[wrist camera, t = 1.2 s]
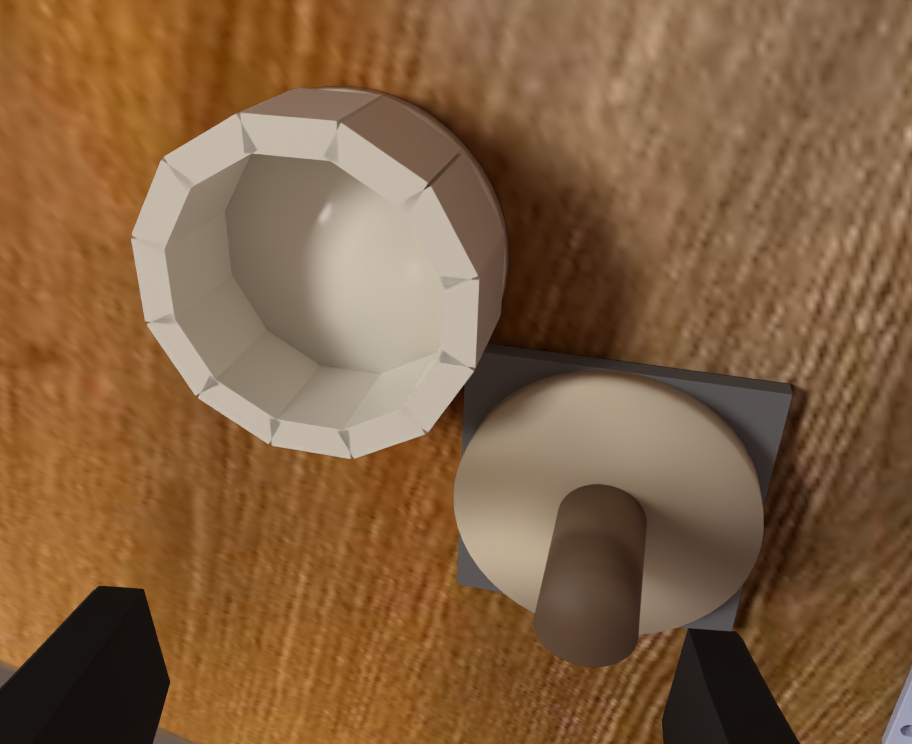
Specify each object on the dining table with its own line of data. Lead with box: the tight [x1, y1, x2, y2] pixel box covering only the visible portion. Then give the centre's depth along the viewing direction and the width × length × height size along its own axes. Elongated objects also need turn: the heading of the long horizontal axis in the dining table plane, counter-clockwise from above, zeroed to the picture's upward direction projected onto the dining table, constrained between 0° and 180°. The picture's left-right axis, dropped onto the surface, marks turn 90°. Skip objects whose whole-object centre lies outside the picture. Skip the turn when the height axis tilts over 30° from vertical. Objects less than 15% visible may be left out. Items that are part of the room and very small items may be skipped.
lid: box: [454, 370, 764, 667], centre depth 23 cm, size 9×9×5 cm
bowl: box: [131, 86, 509, 459], centre depth 22 cm, size 9×9×4 cm
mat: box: [457, 343, 792, 631], centre depth 26 cm, size 9×9×1 cm
